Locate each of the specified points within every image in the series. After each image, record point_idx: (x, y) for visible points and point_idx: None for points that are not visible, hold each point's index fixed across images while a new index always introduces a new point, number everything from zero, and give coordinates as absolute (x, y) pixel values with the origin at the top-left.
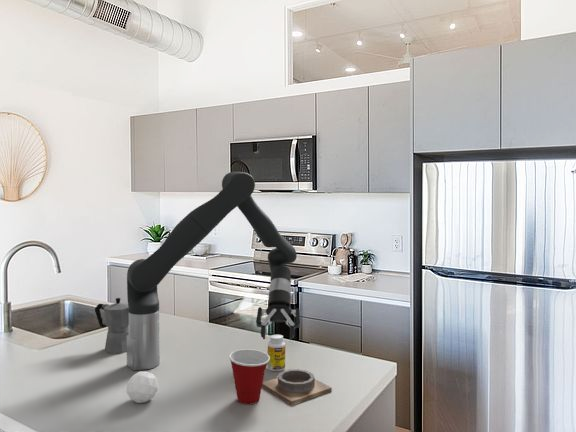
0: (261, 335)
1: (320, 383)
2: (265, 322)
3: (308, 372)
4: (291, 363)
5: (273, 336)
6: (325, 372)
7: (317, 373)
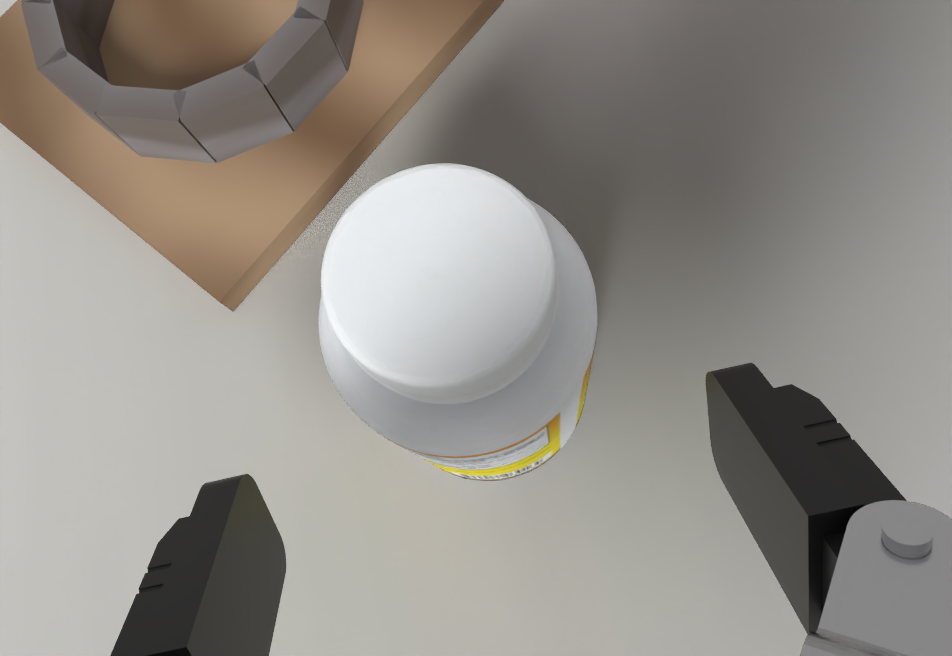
0: (786, 390)
1: (25, 113)
2: (867, 586)
3: (78, 83)
4: (366, 579)
5: (491, 244)
6: (2, 433)
7: (76, 387)
